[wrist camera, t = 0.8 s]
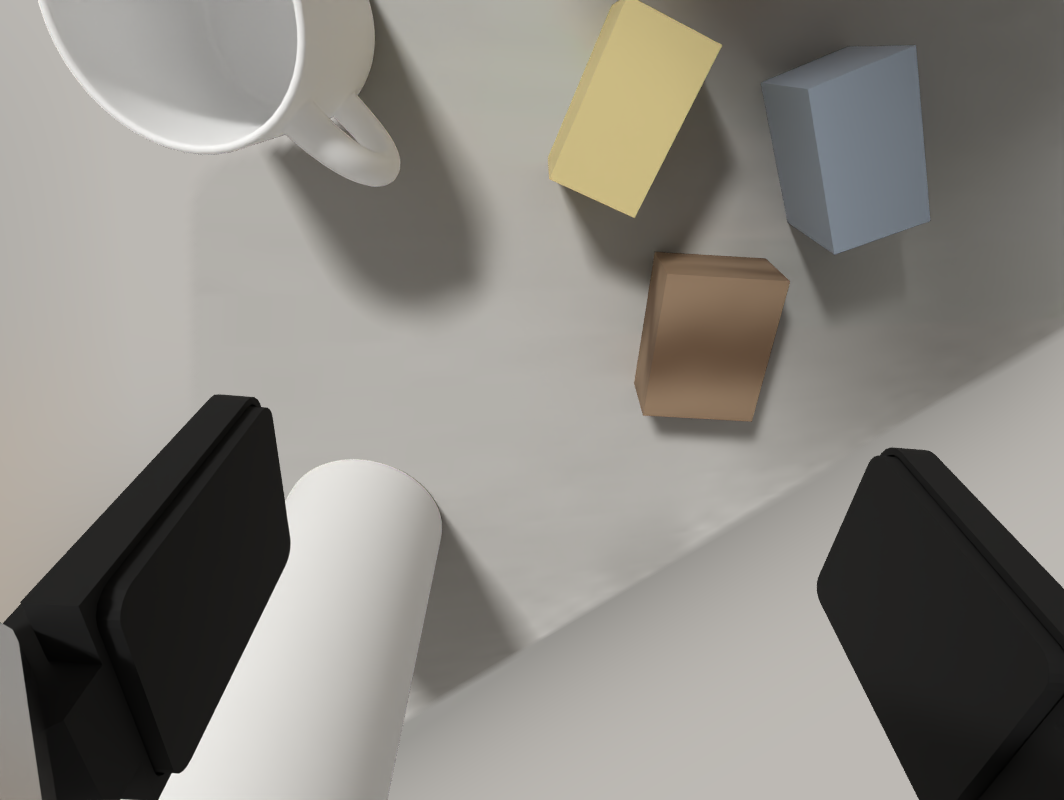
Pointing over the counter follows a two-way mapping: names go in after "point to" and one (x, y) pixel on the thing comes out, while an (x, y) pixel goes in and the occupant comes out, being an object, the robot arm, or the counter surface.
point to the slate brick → (850, 145)
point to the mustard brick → (629, 105)
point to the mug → (232, 74)
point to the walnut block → (707, 335)
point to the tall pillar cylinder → (327, 647)
